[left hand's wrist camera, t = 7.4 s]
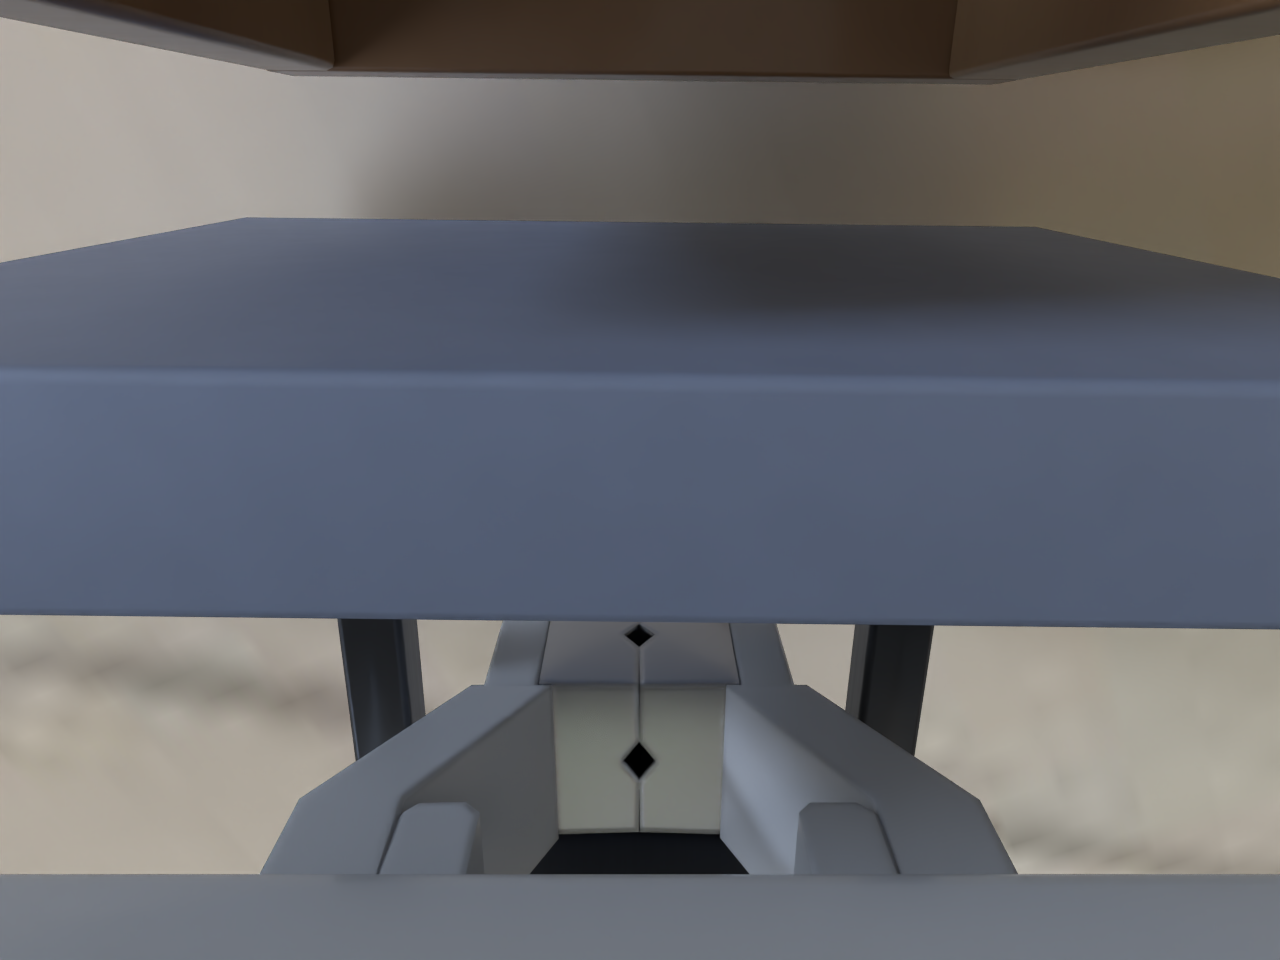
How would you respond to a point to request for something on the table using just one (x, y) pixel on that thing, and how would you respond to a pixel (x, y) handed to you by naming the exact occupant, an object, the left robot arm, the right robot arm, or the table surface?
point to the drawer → (643, 383)
